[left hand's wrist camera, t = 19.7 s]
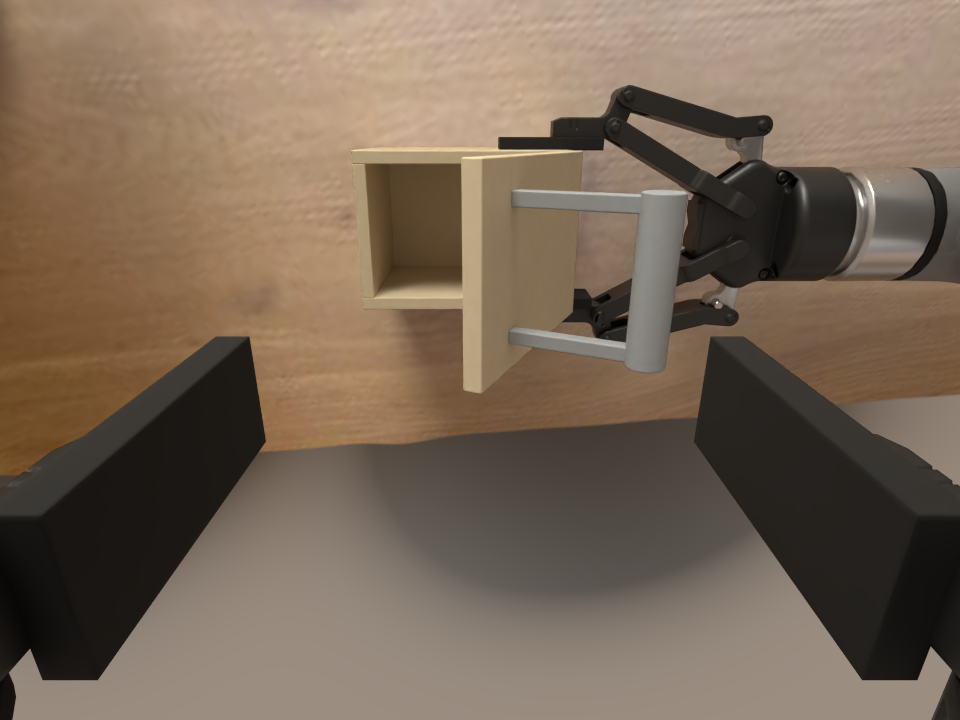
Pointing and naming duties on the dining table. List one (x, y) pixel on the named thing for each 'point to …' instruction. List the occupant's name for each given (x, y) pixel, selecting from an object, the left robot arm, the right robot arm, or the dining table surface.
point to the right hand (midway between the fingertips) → (497, 225)
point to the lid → (554, 263)
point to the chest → (412, 224)
